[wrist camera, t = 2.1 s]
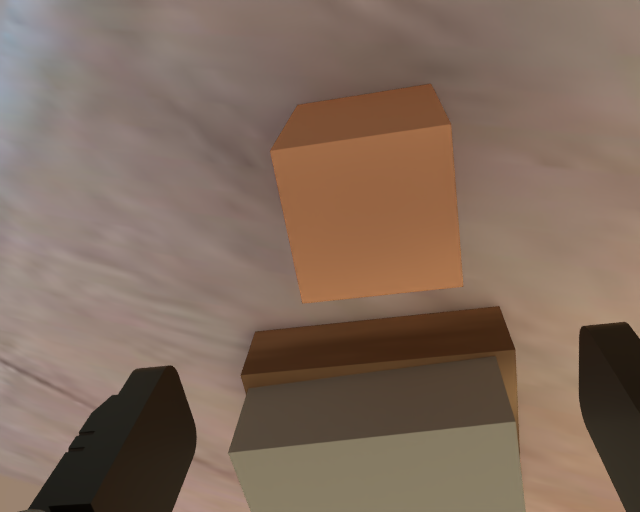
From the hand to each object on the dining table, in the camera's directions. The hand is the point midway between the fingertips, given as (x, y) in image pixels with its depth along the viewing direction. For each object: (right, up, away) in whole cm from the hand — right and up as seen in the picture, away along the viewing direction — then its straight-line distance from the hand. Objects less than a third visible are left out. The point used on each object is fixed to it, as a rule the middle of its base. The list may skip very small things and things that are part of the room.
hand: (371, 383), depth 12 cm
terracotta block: (+1, +7, +13) cm, 15 cm away
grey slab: (+2, -8, +16) cm, 18 cm away
